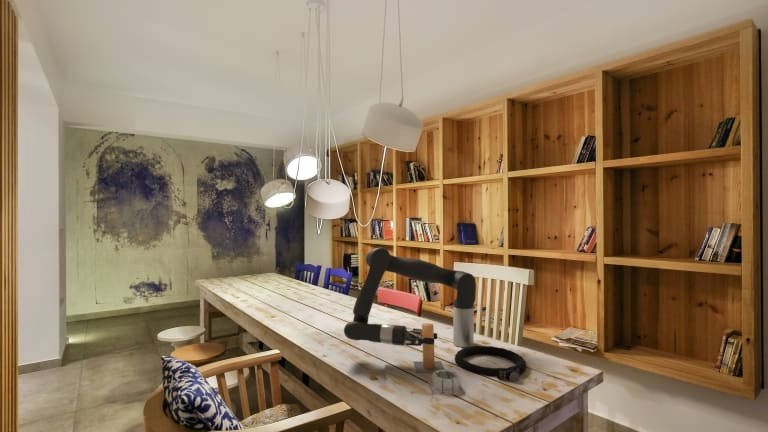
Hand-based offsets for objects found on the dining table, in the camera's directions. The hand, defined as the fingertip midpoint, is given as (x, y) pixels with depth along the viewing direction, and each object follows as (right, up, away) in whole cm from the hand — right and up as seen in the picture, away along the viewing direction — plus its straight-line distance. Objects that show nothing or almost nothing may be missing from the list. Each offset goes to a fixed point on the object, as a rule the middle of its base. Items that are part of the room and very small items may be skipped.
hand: (435, 338), depth 143 cm
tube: (-2, -11, +1) cm, 11 cm away
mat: (-2, -12, +1) cm, 12 cm away
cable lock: (+23, -13, +4) cm, 26 cm away
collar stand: (+1, -12, -16) cm, 20 cm away
